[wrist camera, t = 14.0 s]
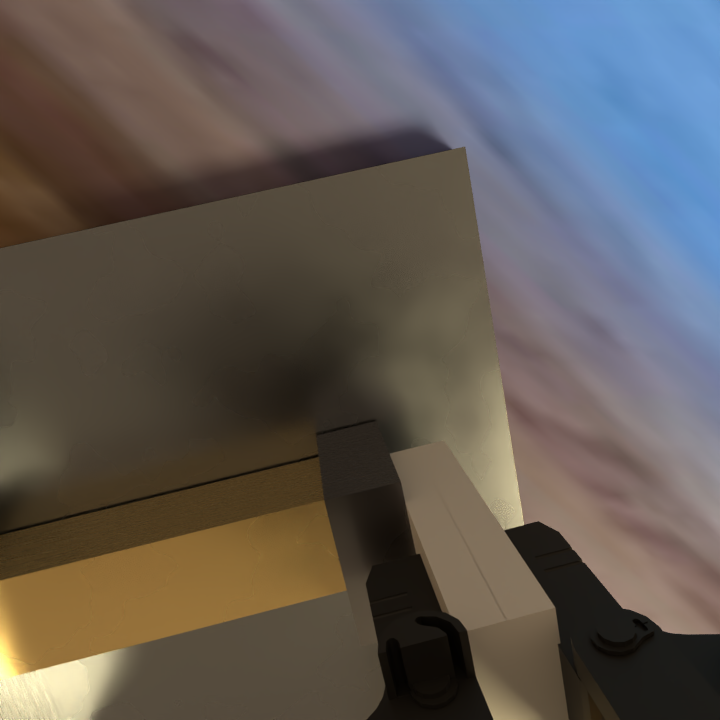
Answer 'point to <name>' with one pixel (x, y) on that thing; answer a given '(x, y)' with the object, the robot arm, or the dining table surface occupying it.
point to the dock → (244, 403)
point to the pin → (204, 555)
